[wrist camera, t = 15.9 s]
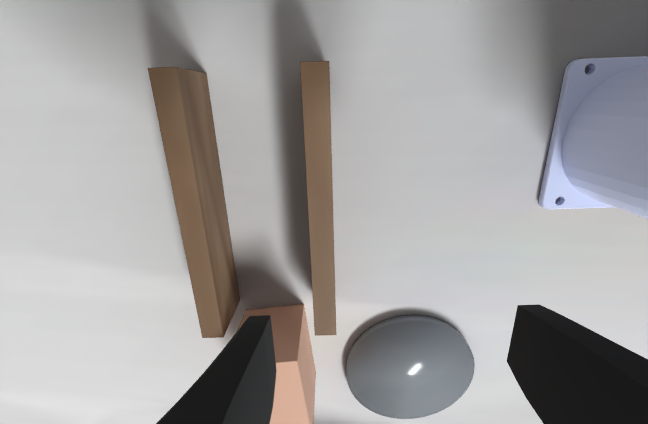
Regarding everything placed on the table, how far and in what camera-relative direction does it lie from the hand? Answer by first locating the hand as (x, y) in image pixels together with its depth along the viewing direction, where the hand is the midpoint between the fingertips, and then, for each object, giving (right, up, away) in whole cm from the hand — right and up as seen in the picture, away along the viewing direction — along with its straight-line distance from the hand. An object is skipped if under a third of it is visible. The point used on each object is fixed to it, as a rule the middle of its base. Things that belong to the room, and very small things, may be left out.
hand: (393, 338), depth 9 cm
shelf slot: (-5, +4, +9) cm, 12 cm away
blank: (-5, -6, +13) cm, 15 cm away
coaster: (+4, -8, +14) cm, 16 cm away
